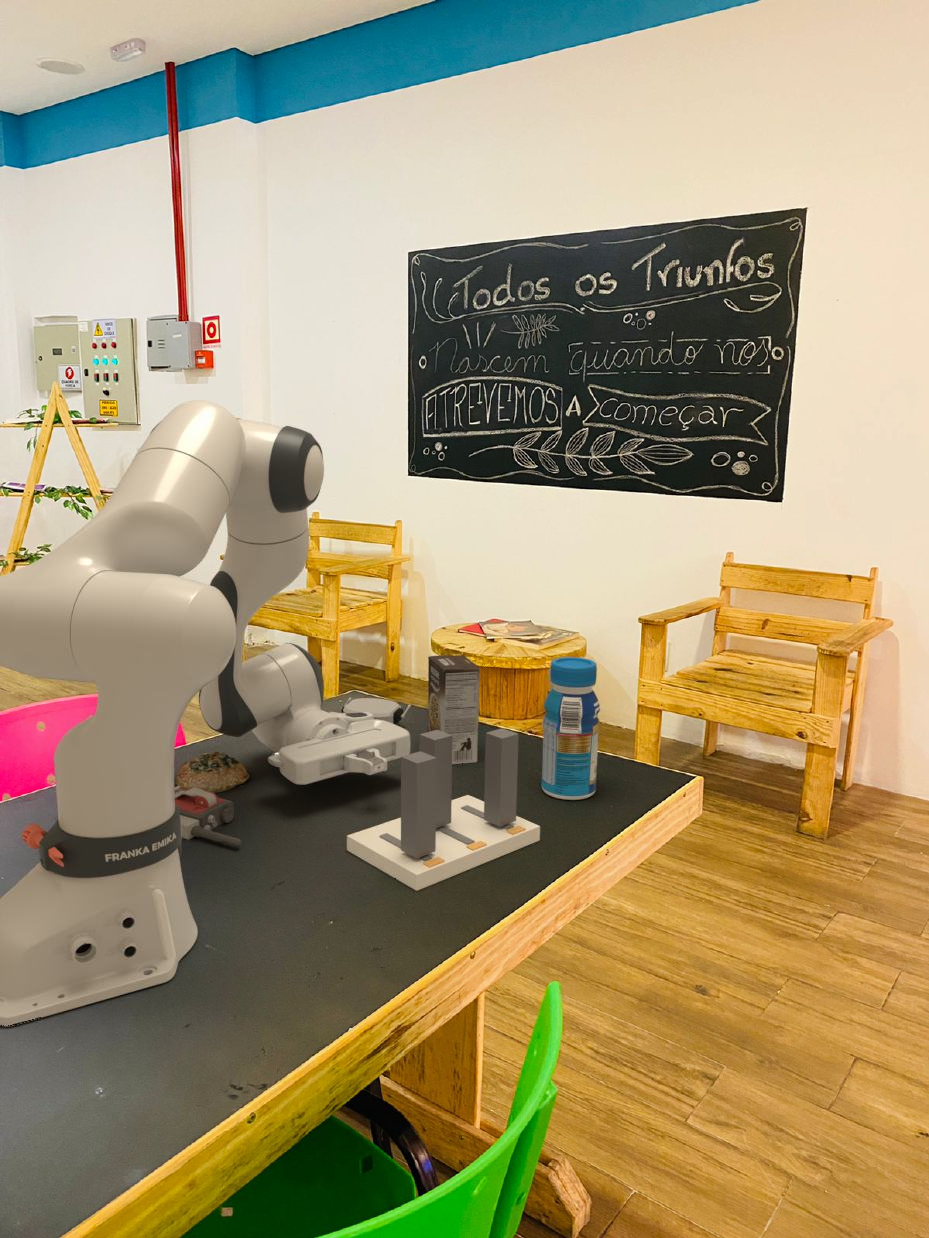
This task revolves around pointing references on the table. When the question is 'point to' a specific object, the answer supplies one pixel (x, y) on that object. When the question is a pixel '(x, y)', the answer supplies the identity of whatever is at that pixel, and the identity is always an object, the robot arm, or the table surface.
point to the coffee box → (455, 703)
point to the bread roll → (211, 773)
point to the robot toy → (376, 709)
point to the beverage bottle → (571, 730)
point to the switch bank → (443, 845)
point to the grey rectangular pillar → (440, 771)
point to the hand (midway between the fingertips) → (379, 767)
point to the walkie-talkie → (203, 814)
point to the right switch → (501, 777)
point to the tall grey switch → (418, 804)
